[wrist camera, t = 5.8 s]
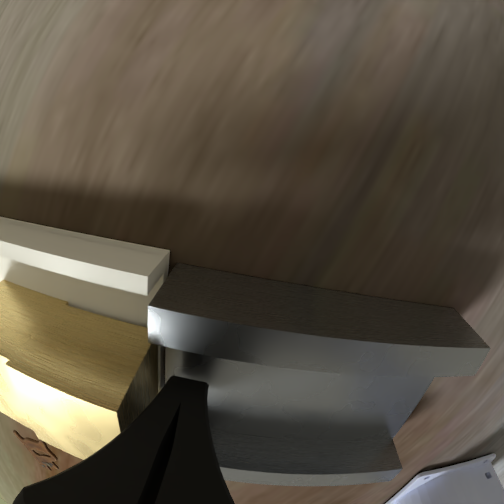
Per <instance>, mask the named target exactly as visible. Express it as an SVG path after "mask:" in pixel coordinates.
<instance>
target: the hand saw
mask: <svg viewBox="0 0 504 504" xmlns="http://www.w3.org/2000/svg"><path fill="white" fill-rule="evenodd" d="M13 432H14V434H15V435H16V436H17V438H18V439H19V440H20V441H21V442H22V443H23V444H24V445H25V446H26V447H27V449H28V450H29V451H30V452H31V453H32V455H33V457H34V458H35V459H36V460H37V461H38V462H39V463H40V464H41V465H42V466H43V467H45V468H47V469H49V470H51V469H50V468H49V467H53V468H55V469H57V470H58V467H57V466H56V465H55V464H54V463H53V461H56V460H57V458H56V457H55V455H54V454H53V453H52V452H51V451H50V450H49V449H48V448H47V446H46V444H45V442H44V441H42V440H39V441H36V440H33V439H30V438H22V437H21V436H20V435H19V434H18V433H17V431H15V430H14V431H13ZM34 450H38V451H42V452H44V453H47V454H48V455H50V456H48V455H40V454H38V453H36V452H35V451H34ZM47 465H48V466H49V467H48V466H47Z"/></svg>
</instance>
